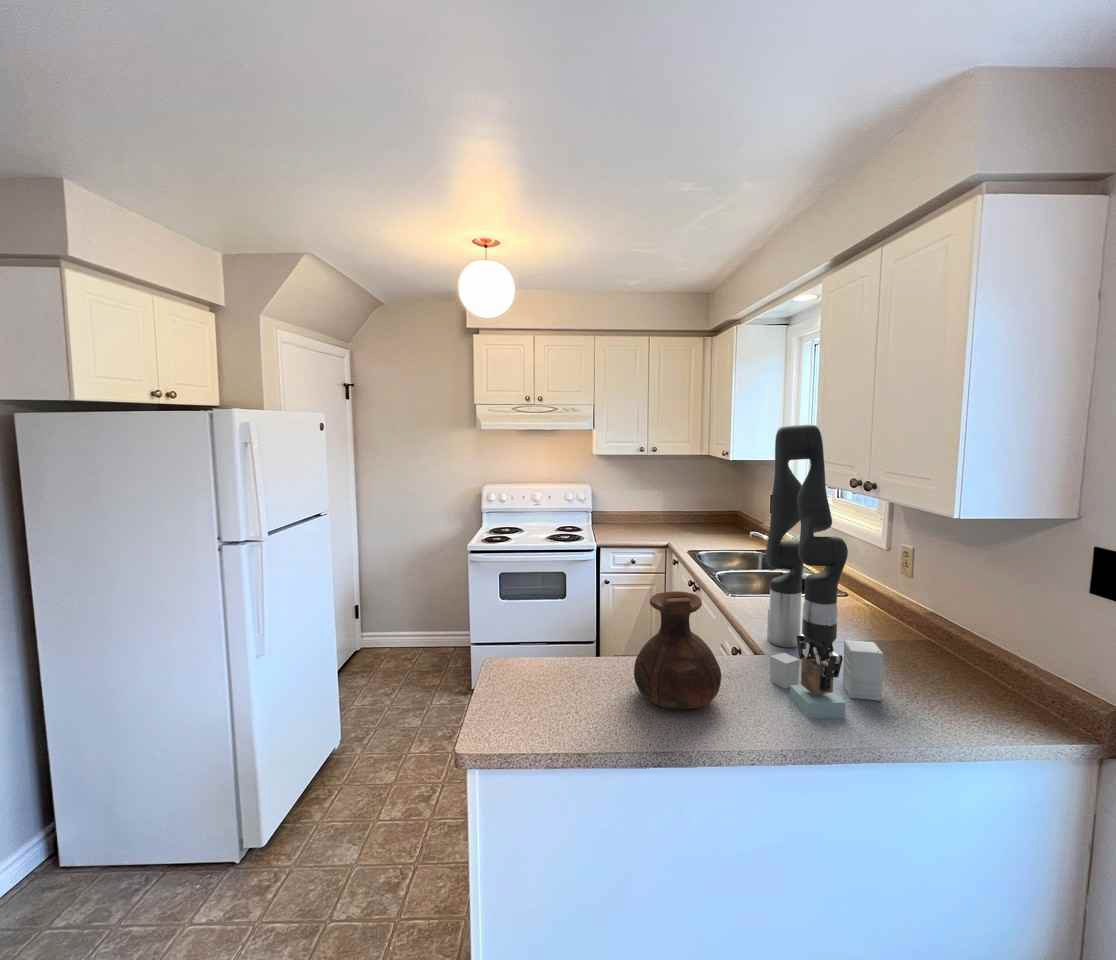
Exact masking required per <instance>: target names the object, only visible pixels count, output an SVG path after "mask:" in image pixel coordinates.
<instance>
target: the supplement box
mask: <svg viewBox="0 0 1116 960" xmlns="http://www.w3.org/2000/svg"><path fill="white" fill-rule="evenodd" d="M842 664H843V665H842V667H843V669H842V686H843V688H844V689H845V691H846V693H847V695H848V696H849V698H850V699H860V700H869V701H879V702H881V701H882V689H883V668H884V652H882V650H881V649H880V648H879V647H878V645H877V644H876V643H875V642H874V641H861V640H860V641H859V640H849V639H844V641H843V662H842Z"/></svg>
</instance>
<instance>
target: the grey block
mask: <svg viewBox="0 0 1116 960" xmlns="http://www.w3.org/2000/svg"><path fill="white" fill-rule="evenodd" d="M769 671H770V672H769V673H770V674H769V676H770V677H769V679H770V680H769V681H770V682H772V683H773V684H775V685H776V686H780V687H781V688H782V689H790V685H800V683H799V682H800V681H799V678H800V676H799V675H800V658H799V659H798V658H796V657H794V656H792V655H790V654H788V653H786V652H781V653H778V654H773V655H771V656H770V670H769Z"/></svg>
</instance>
